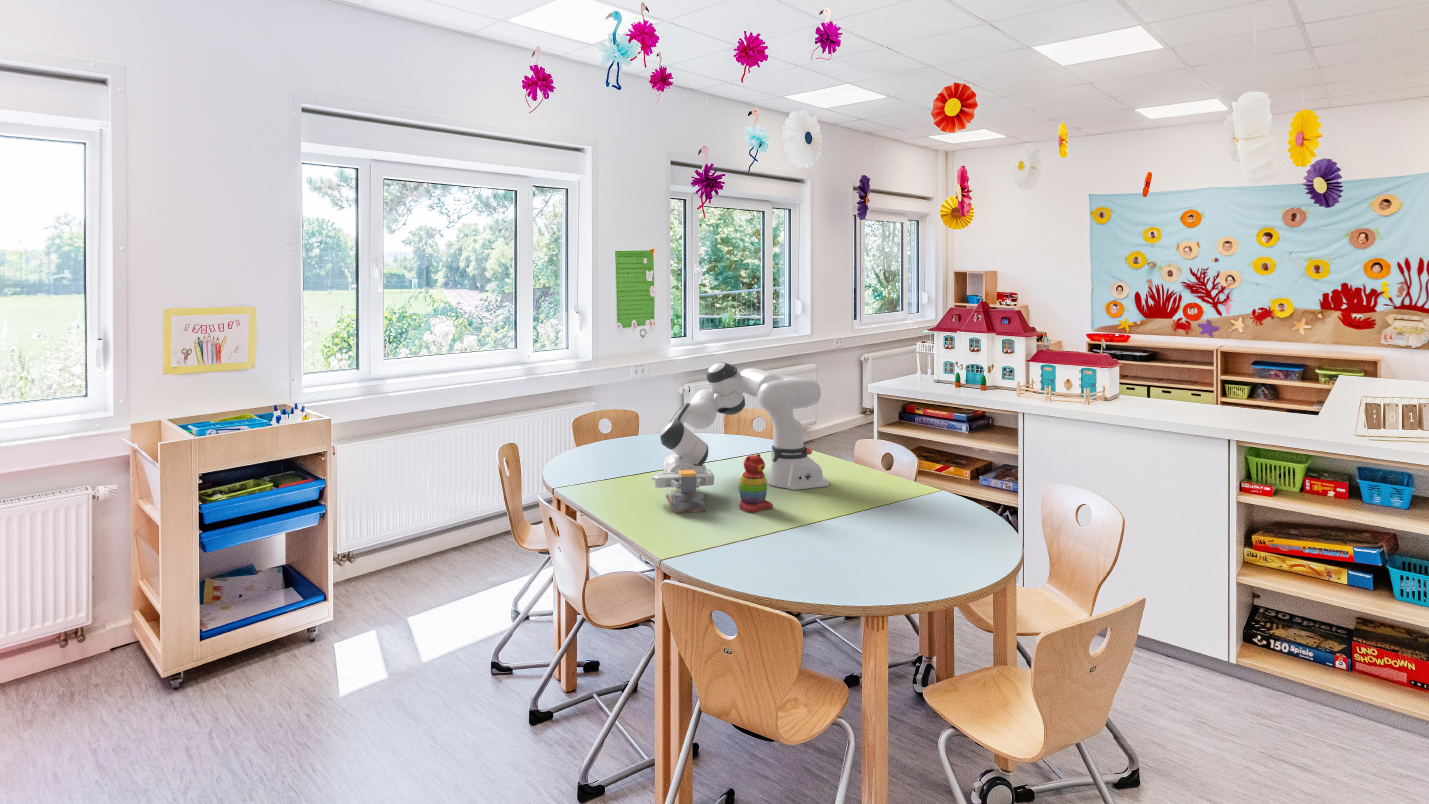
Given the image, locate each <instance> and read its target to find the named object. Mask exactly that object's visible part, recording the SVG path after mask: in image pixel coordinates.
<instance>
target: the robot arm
mask: <svg viewBox="0 0 1429 804" xmlns="http://www.w3.org/2000/svg"><path fill="white" fill-rule="evenodd" d="M705 373H706V374H705V375H706V381H707V382H708V385H709V388H710V389H706V388H703V389H699V390H698V391H696V392H695V394H694V395H693V397H692V398H691V400H690V402H687V403H684V404H683V405H682V406H681V407H680V408H678V410H677V411H676V412H675V414H674V415H673V417H672V418H671V420H670V421H669V423H667V425H666V426H664V428H663V429H662V431H661V432H660V436H659V437H660V444H661V445H662V446H664V447H665V448H667V449H669V450H670V451H672V452H673V453H670V454H669V455H667V456H666V458H665V459H664V463H663V471H660V472H656V473H655V474H654V475H652V476H651V479H652V480H653V481H654V487H655V488H657V489H664V488H675V489H679V488H680V482H679V470H694V471H695V472H696V489H697V488H698V489H699V488H700V487H704V486H705V487H706V486H713V485H715V474H714V472H713V471H712V470H710V469H709V468H707V466H706V465H705V462H706V461H707V460H708V457H709V446H708V443H706V442H705V441H704V440H703V439H701V438H700V437H699V436H698V435H696V434H695V433H694V432H693V431H691V430H690V429H688V427H690V428H692V429H694V430H706V429H708V428H710V427H711V426H712V425H713V424H714V422H715V421H716V418H717V414H718V413H719V414H723V415H726V416H727V415H728V416H733V415H736V414H739V413H741V412H742V411H743V410H744V409H745V407H746V399H745V396H744V394H746V395H749V396H751V397H752V398H755V399H757V400H758V403H759V405H760V407H761V408H762V409H764V410H765V411H766V412H767V414H768V415H769V417H770V420H771V422H772V423H771V424H772V428H773V436H772V437H773V438H772V439H773V440H772V442H773V443H772V445H771V462H772V463H771V469H770V473H769V478H768V480H767V483H768V484H769V485H770V486H773V487H777V488H783V489H788V490H791V491H792V490H793V491H795V490H806V489H813V488H823V487H829V485H830V483H829V482H830V481H829V480H828V479H827V478H826V477H824V474H823V469H822V467H821V466H820V464H819V463H817V462H816V461H815V460H813V459H812V458H811V457H810V456H809V455H812V454H813V450H812V449H811V448H808V447H806V446H805V445H804V437H805V436H804V431H805V430H804V429H805V428H804V425H803V423H802V422H801V421H799V420H798V419H796V418H795V416H794V410H799V409H806V408H810V407H812V406H814V405H817V404H818V403H819V401H820V399H821V396H822V392H821V387H820V385H819V383H818V382H817V381H816V380H814V379H810V378H803V377H799V376H793V375H792V376H791V375H785V374H777V373H773V372H770V371H767V370H764V369H760V368H753V367H752V368H751V367H748V368H744V369H742V370H740V371H739V370H738V368H737V366H736V365H732V364H730V363H727V362H725V361H723V362H722V361H720V362H716V363H714V364H712V365H711V366H709V367H708V369H707V370H706V372H705ZM687 426H688V427H687Z"/></svg>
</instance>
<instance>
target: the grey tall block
mask: <svg viewBox="0 0 1429 804" xmlns="http://www.w3.org/2000/svg"><path fill="white" fill-rule="evenodd" d="M679 482H680V488H678V493H697V488H696V472H695V471H694V470H679Z"/></svg>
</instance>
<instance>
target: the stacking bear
mask: <svg viewBox="0 0 1429 804" xmlns="http://www.w3.org/2000/svg"><path fill="white" fill-rule="evenodd" d="M743 467H744V470H745V471H744V472H743V473H742V474H741V476H740V481H739V484H738V490H739V491H738V492H739V495H740V496H739V497H740V502H739V505H738V507H739V508H740V510H741V511H744V512H745V513H750V514H751V513H752V514H754V513H757V512H758V511H762V510H763V511H764V510H771V509H773V507H774V505H773V503H772V502H770V501H769V500H766V498H767V493H768V484H767V483H768V482H767V478H766V475H765V473H764V470H765V468H766V463H765V461H764V459H763V457H761V454H760V453H758V454H751V455H748V456H746V457H745V459H744V461H743Z"/></svg>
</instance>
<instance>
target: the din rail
mask: <svg viewBox="0 0 1429 804" xmlns="http://www.w3.org/2000/svg"><path fill="white" fill-rule="evenodd" d="M665 498H666V500H667V502H668V503H669V505H670V507H671V509H672V511H673V513H674V514H687V513H702V512H704V513H705V512H706V511H705V510H706V509H705V508H706V507H705V505H706V500H705V499H706V493H705V492H703V491H701V492H697V491H696V493H679V492H678V493H677V492H676V493H673V491H672V490H668V492H667V494H666V495H665Z"/></svg>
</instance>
